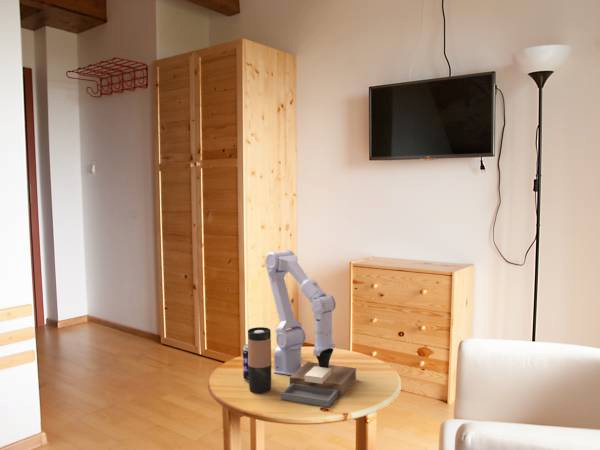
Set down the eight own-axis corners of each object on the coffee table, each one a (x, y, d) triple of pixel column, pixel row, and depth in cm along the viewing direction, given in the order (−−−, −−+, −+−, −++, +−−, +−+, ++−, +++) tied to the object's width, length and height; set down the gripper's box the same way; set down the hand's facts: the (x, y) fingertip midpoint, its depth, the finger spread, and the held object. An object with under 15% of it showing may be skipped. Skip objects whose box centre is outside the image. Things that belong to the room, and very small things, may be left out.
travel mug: (275, 386, 172) (274, 328, 170) (266, 395, 165) (265, 334, 163) (254, 383, 174) (253, 326, 173) (244, 392, 167) (243, 332, 166)
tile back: (309, 376, 170) (309, 370, 170) (314, 372, 174) (314, 366, 174) (326, 378, 167) (326, 373, 167) (331, 374, 172) (331, 368, 171)
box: (280, 400, 161) (280, 393, 161) (292, 389, 169) (292, 383, 169) (328, 407, 155) (328, 400, 154) (338, 396, 163) (338, 389, 163)
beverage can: (243, 376, 181) (243, 343, 180) (259, 376, 182) (259, 343, 181) (243, 382, 176) (242, 348, 175) (259, 382, 176) (259, 347, 175)
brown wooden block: (289, 388, 170) (289, 377, 169) (307, 372, 184) (307, 361, 184) (341, 396, 163) (341, 384, 162) (355, 379, 177) (355, 368, 177)
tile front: (304, 381, 166) (304, 375, 165) (309, 376, 170) (309, 370, 170) (322, 383, 163) (322, 377, 163) (326, 378, 167) (326, 372, 167)
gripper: (327, 338, 164) (328, 379, 165) (341, 326, 178) (341, 364, 179) (307, 335, 167) (307, 376, 168) (322, 324, 180) (322, 362, 181)
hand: (323, 370), depth 174 cm, fingers closed
